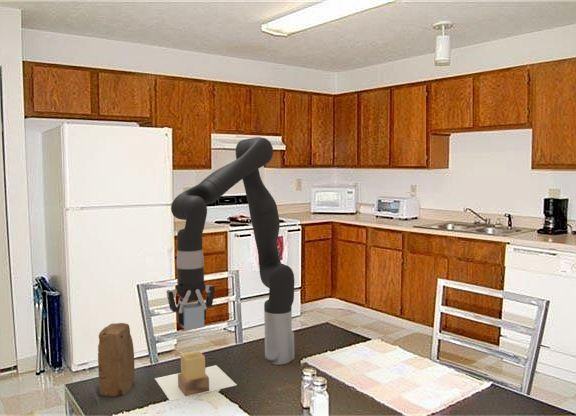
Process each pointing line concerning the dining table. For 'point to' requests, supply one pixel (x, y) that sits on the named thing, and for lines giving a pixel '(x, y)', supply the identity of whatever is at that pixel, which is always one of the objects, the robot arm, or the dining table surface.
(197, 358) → the brick ochre
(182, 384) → the base block
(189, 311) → the brick blue
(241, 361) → the dining table surface
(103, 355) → the block
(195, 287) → the robot arm
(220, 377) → the board
